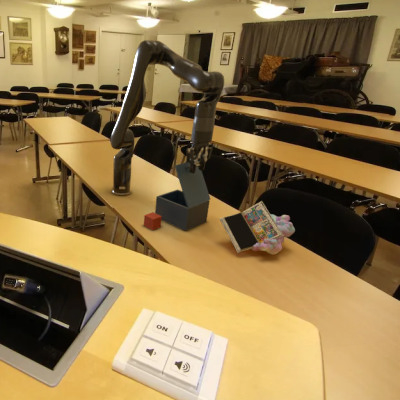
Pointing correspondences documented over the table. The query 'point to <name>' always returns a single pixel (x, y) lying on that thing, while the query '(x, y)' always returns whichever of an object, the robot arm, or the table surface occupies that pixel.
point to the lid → (192, 184)
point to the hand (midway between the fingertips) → (196, 171)
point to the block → (152, 221)
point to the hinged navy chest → (180, 210)
